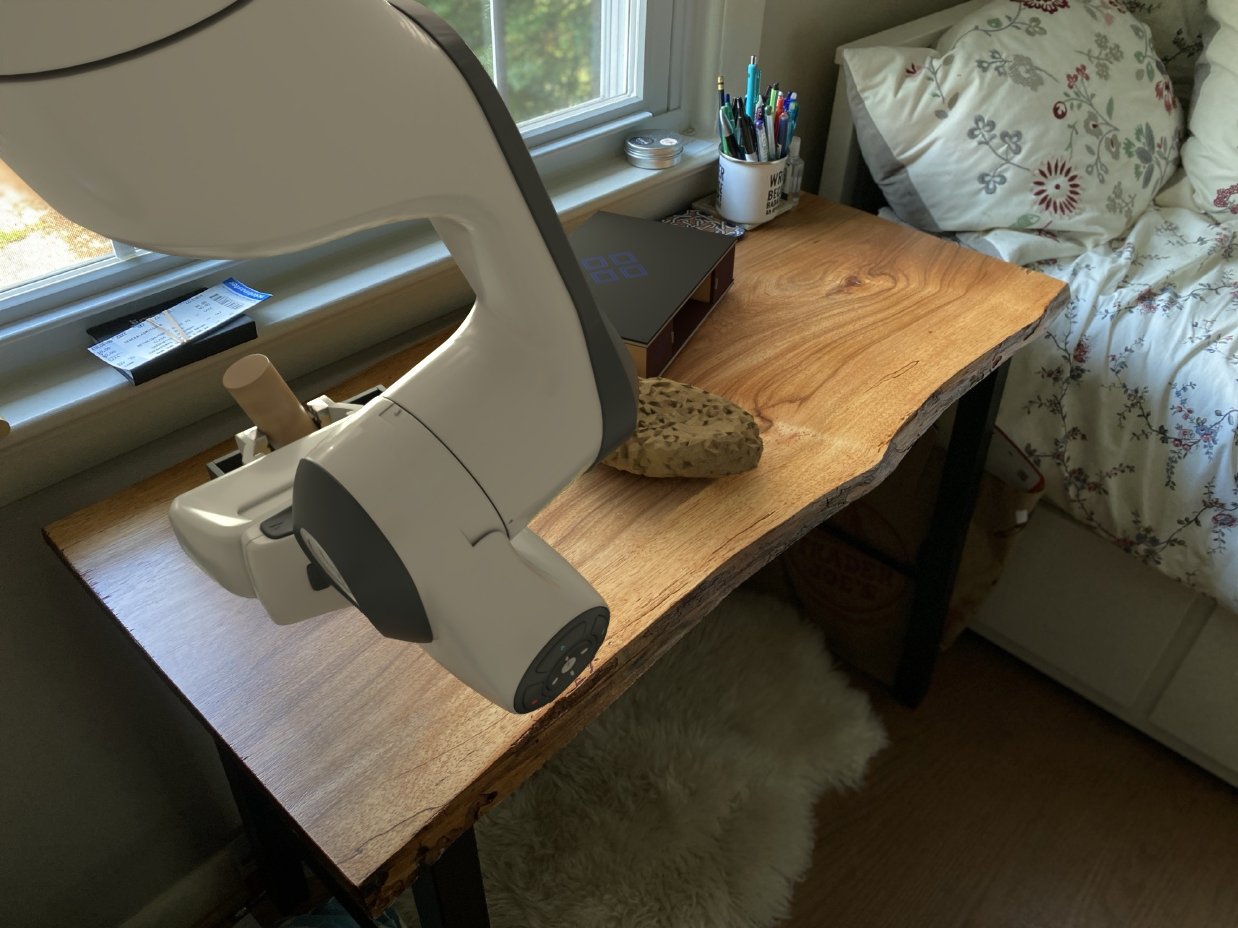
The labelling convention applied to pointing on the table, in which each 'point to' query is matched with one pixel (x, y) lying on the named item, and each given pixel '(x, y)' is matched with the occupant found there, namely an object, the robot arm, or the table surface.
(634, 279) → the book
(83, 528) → the table surface
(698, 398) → the sponge
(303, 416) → the tan cylinder
